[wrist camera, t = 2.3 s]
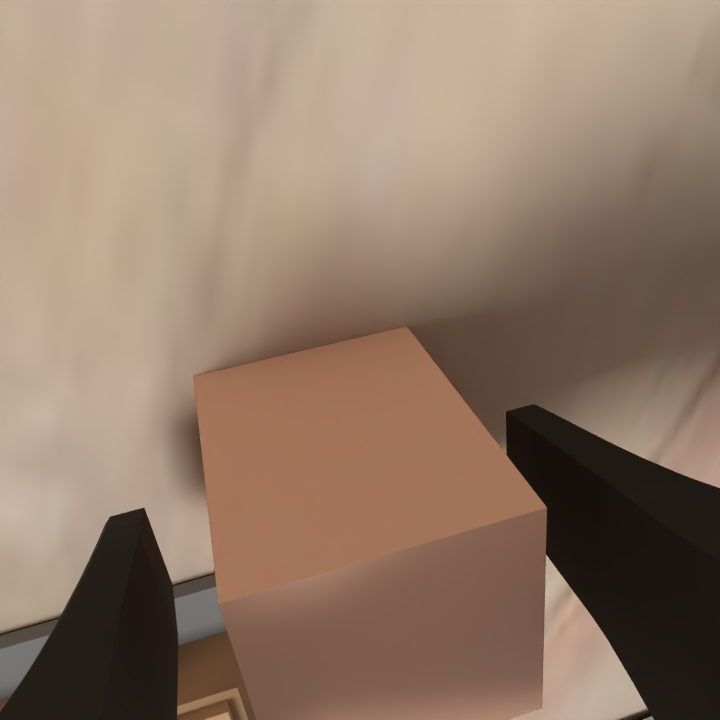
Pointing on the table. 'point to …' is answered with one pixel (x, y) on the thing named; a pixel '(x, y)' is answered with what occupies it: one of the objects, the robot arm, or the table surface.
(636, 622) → the robot arm
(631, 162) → the table surface
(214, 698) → the pedestal
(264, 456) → the block
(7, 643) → the mat
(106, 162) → the table surface
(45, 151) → the table surface
